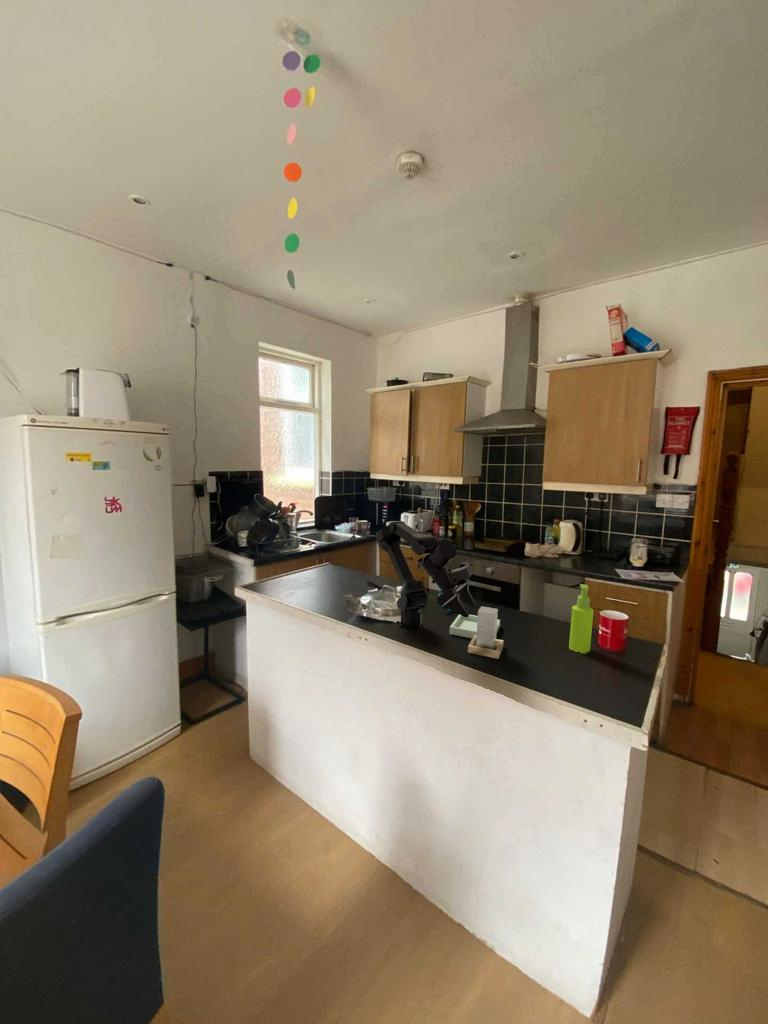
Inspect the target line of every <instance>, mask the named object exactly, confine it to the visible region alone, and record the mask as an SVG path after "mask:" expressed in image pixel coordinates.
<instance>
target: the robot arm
mask: <svg viewBox="0 0 768 1024" xmlns="http://www.w3.org/2000/svg"><path fill="white" fill-rule="evenodd" d="M375 539H376V542H377V543H378V546H379V547H380V549H382V550H383V551H384V552H386V554H388V557H389V560H390V562H391V564H392V567H393V568H394V571H395V574H396V576H397V578H398V580H399V583H400V585H401V588H400V597H399V598H398V599H397V601H396V605H397V607H396V608H398V609H399V610H400V623H399V624H398V627H400V628H405V629H410V630H415V631H416V630H418V629H419V628H420V627H421V626H422V624H423V615H424V614H423V612H422V609H426V606H427V603H428V599H429V595H428V592H427V589H426V587H425V586H424V583H423V581H422V580H417V579H415V577H414V575H413V573H412V571H411V569H410V566H409V563H408V562H407V560H406V557H405V555H404V552H403V551H402V548H401V542H402V540H404V541H405V542H407V543H408V544H409V545H410V549H411V550H412V551H413V552H414V554H416V555H417V556H421V555H422V557H420V558H419V559H418V560H417V569H421V568H422V569H423V570H424V571H425V572H426V573H427V574H428V576H429V577H430V578H431V579H432V581H431V583H432V584H433V585H436V586H438V588H439V589H440V590H442V591H441V592H439V594H440V593H441V594H440V595H439V594H438V595H439V596H438V595H437V597H435V603H436V605H438V606H439V608H444V607H445V608H444V609H446V610H447V609H449V610H451V611H452V612H453V611H454V612H453V613H456V614H458V615H459V614H460V615H462V616H464V617H466V618H467V617H468V616H469V615H470V614H469V613H468V611H467V610H466V608H465V606H464V605H463V603H465V604H467V605H468V606H469V607H471V608H473V609H475V608H476V607H477V605H476V603H475V601H474V598H473V596H472V594H471V592H470V590H469V587H470V583H471V582H470V578H471V576H473V572H472V567H471V566H470V564H467V563H466V562H462V563H459V564H458V568H455V569H452V568H451V567H447V566H446V565H447V564H448V563H450V562H451V561H452V560H453V559H455V557H456V556H457V549H456V547H455V546H454V545H453V544H452V543H450V542H449V541H447V538H440V539H439V540H437V538H436V537H435V536H434V535H430V534H424V533H420V532H419V531H417V530H415V529H414V528H413V527H411V526H410V525H408V524H406V523H405V521H403V520H397V521H396V520H393V521H391V522H389V523H388V525H387V524H386V526H384V527H382V528H380V529H379V530H378V532H376V535H375ZM424 555H425V556H424ZM423 556H424V557H423ZM461 601H462V602H463V603H462V602H461ZM443 604H444V605H443ZM442 605H443V607H441V606H442ZM451 611H450V612H451Z"/></svg>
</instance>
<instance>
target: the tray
mask: <svg viewBox="0 0 768 1024" xmlns="http://www.w3.org/2000/svg"><path fill="white" fill-rule="evenodd" d="M477 620H478V615H475V614H469V616H468V617H467V618H466V617H464V616H462V615H460V614H458V615H457V617H456V618H455V619H454V620H453V622H452V623H451V625H450V626H449V635H451V636H452V635H453V636H457V637H462V638H468V639H472V638H473V637H474V635H477ZM500 627H501V619H498V618H497V632H496V635H497V633H498V632H499V630H500Z"/></svg>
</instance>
